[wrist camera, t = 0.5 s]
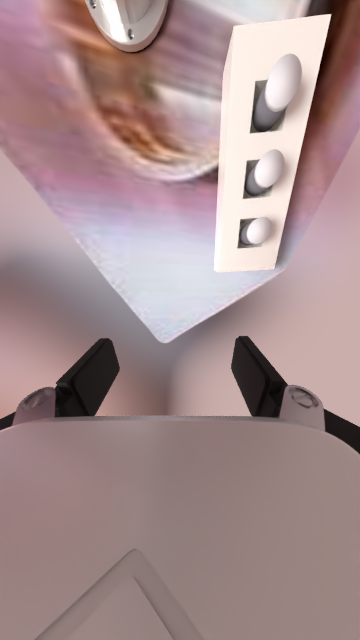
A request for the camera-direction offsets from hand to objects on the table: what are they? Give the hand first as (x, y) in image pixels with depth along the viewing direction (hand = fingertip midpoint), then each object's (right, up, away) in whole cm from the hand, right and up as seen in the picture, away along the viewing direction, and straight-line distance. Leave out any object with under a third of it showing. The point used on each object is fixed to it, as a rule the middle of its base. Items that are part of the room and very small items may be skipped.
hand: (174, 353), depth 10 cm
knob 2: (+14, +35, +11) cm, 39 cm away
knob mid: (+14, +27, +14) cm, 34 cm away
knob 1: (+15, +20, +17) cm, 30 cm away
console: (+14, +29, +18) cm, 37 cm away
